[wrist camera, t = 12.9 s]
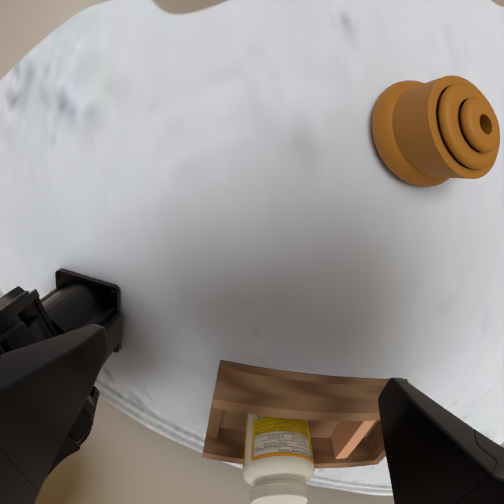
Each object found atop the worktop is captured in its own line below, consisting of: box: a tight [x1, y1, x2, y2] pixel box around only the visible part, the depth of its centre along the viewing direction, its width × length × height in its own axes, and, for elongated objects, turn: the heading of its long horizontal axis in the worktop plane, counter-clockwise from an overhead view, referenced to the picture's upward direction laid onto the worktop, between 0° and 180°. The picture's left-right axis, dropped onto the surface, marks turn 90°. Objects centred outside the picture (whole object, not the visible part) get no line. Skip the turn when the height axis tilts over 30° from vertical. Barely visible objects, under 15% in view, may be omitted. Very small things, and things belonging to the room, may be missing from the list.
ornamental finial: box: [372, 76, 500, 187], centre depth 12 cm, size 8×8×8 cm
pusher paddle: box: [331, 421, 375, 459], centre depth 21 cm, size 1×6×3 cm, turn 168°
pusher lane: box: [202, 360, 408, 468], centre depth 21 cm, size 18×9×4 cm, turn 78°
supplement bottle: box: [243, 414, 314, 504], centre depth 18 cm, size 5×5×10 cm
